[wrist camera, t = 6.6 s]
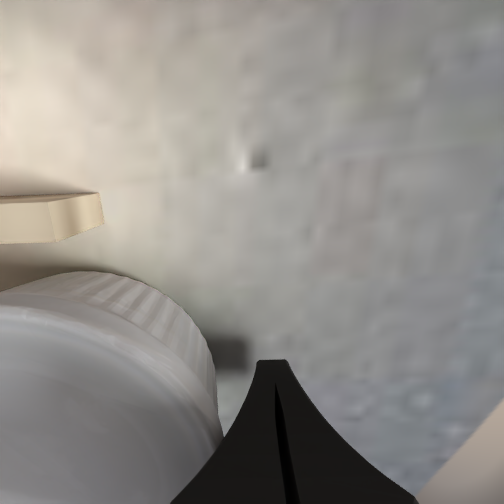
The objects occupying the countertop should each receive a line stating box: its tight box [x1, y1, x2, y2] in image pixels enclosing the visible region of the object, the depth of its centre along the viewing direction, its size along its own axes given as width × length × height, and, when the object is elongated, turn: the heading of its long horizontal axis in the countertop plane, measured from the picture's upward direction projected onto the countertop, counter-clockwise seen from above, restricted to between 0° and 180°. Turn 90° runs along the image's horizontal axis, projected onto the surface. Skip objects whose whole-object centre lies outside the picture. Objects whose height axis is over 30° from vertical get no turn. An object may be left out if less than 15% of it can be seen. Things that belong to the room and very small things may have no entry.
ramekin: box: [0, 271, 224, 504], centre depth 11 cm, size 11×11×5 cm
